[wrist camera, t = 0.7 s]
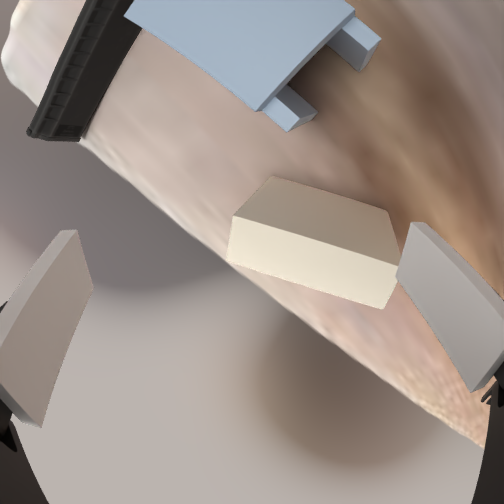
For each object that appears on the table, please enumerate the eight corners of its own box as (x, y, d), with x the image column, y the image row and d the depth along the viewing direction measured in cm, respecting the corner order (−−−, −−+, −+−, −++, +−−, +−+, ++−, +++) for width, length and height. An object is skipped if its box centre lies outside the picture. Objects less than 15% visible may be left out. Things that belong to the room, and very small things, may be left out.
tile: (387, 210, 30) (404, 268, 20) (375, 242, 32) (382, 309, 22) (271, 175, 32) (232, 215, 22) (264, 208, 34) (225, 261, 24)
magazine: (34, 170, 31) (72, -71, 8) (23, 157, 30) (55, -72, 8) (124, 118, 42) (202, -58, 19) (111, 108, 41) (183, -64, 19)
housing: (366, 64, 24) (384, 33, 11) (310, 120, 28) (281, 135, 16) (259, -15, 22) (198, -75, 10) (210, 40, 26) (123, 16, 14)
